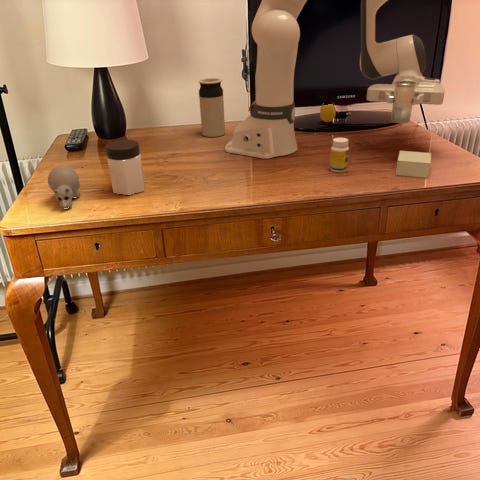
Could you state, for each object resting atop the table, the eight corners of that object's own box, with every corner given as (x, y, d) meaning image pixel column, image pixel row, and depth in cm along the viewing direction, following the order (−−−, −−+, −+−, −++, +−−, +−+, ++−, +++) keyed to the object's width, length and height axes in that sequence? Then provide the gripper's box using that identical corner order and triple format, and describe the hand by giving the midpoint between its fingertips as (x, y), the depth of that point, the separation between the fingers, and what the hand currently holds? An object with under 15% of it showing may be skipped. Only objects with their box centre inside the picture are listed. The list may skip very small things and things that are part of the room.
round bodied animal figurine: (52, 220, 111) (41, 196, 105) (54, 186, 119) (44, 161, 112) (83, 216, 112) (74, 192, 106) (83, 182, 120) (75, 157, 113)
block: (395, 174, 121) (397, 160, 119) (397, 164, 128) (399, 150, 126) (427, 177, 119) (430, 163, 117) (428, 167, 125) (431, 153, 123)
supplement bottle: (347, 173, 124) (349, 142, 120) (329, 172, 125) (331, 142, 120) (347, 166, 128) (349, 137, 124) (330, 166, 129) (331, 136, 125)
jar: (105, 193, 118) (96, 148, 112) (123, 181, 124) (116, 138, 118) (135, 197, 115) (128, 151, 109) (152, 185, 121) (146, 141, 115)
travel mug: (228, 135, 157) (225, 80, 148) (206, 138, 155) (201, 83, 146) (220, 129, 164) (217, 76, 155) (199, 132, 161) (195, 79, 152)
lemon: (317, 121, 168) (318, 99, 164) (332, 120, 168) (334, 98, 164) (321, 125, 163) (322, 103, 159) (337, 124, 163) (338, 102, 159)
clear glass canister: (389, 122, 125) (394, 84, 120) (391, 117, 129) (396, 80, 124) (409, 123, 123) (415, 85, 118) (410, 118, 127) (416, 81, 122)
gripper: (370, 77, 135) (364, 86, 124) (445, 79, 129) (446, 90, 118) (368, 99, 138) (361, 110, 127) (441, 102, 132) (441, 114, 121)
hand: (403, 100), depth 122 cm, fingers closed on clear glass canister, 5 cm apart
